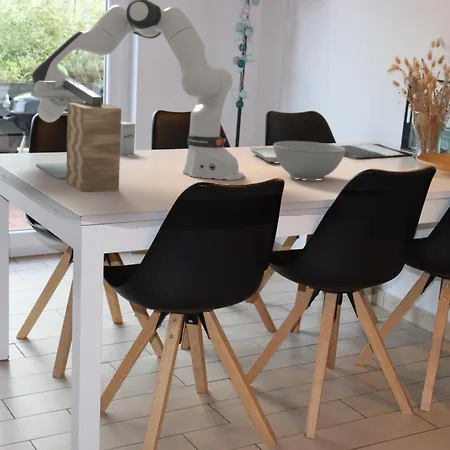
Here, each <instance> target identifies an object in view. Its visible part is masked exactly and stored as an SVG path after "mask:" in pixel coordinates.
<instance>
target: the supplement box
mask: <svg viewBox="0 0 450 450" xmlns="http://www.w3.org/2000/svg"><path fill="white" fill-rule="evenodd" d="M135 137H136V123H134V122H128V121H121V137H120V156H122V155H130V154H132V153H134V154H135V139H136V138H135Z"/></svg>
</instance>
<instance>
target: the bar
mask: <svg viewBox="0 0 450 450" xmlns="http://www.w3.org/2000/svg"><path fill="white" fill-rule="evenodd" d="M65 79H66V83H65V85H62V87H63V88H65V89H67V90H68V91H70V92H71V93H73V94H74V95H76V96H77V97H79V98H80V99H82V100H83V101H84V103H88V104H89V105H91V106H97V107H101V106H102V103H103V96H101V95H99V94H98V93H97V92H95V91H94V90H93V91H91V90H90V89H88V88H86V87H85V86H83V85H81V84H80V83H78V82H79V81H78V82H77V81H75V80H73V78H72V77H71V78H65Z"/></svg>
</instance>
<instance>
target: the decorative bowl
mask: <svg viewBox="0 0 450 450" xmlns="http://www.w3.org/2000/svg"><path fill="white" fill-rule="evenodd" d="M272 145H273V146H272V147H273V148H274V151H275V155H276V157H277V160H278V161H279V163H280V164H279V165H280V166H281V168H283V170H284V171H286V172H287V173H288V174H289V177H290V176H291V177H294V178H299V179H306V180H316V179H322V178H323V179H324V178H325V177H326V176H328V175H330V174H331V173H333V172H334V171H335V170H336V168H337V167H338V166H339V165H340V163H341V162H342V160H343V158H344V156H345V154H346V148H344V147H343V146H340V145H336V144H331V143H325V142H316V141H303V140H302V141H301V140H300V141H298V140H283V141H276V142H274V143H273V144H272ZM291 177H290V178H291Z"/></svg>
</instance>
